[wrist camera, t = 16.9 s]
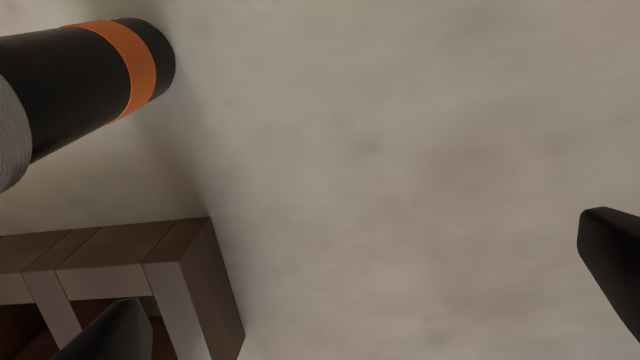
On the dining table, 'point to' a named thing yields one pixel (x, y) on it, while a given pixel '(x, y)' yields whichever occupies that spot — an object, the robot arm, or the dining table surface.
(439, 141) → the dining table surface
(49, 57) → the flashlight
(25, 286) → the tool caddy
